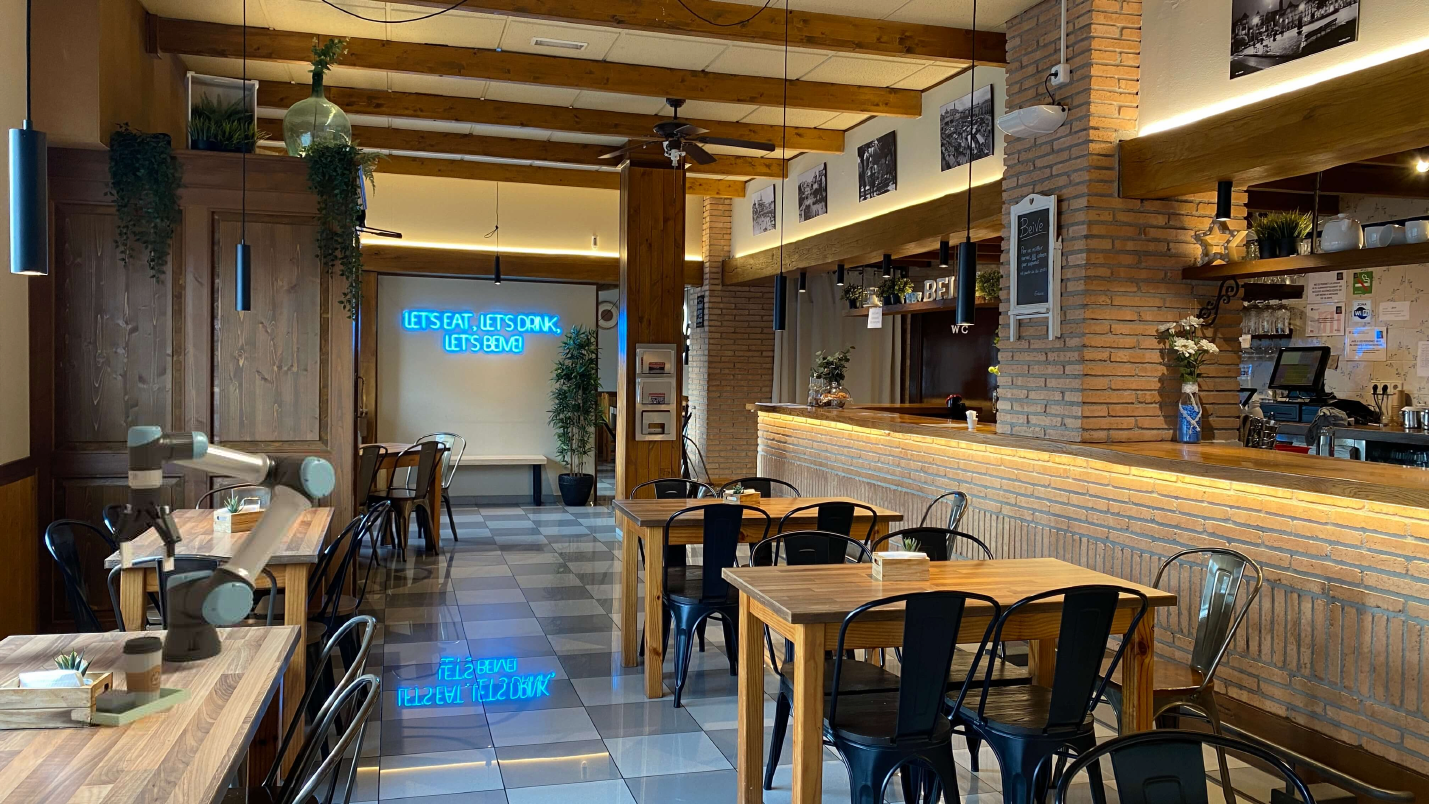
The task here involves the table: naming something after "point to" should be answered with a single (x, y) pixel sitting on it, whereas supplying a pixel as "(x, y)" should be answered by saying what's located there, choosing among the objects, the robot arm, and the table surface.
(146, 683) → the coffee cup
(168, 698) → the green tray
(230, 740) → the table surface
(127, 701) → the cube
